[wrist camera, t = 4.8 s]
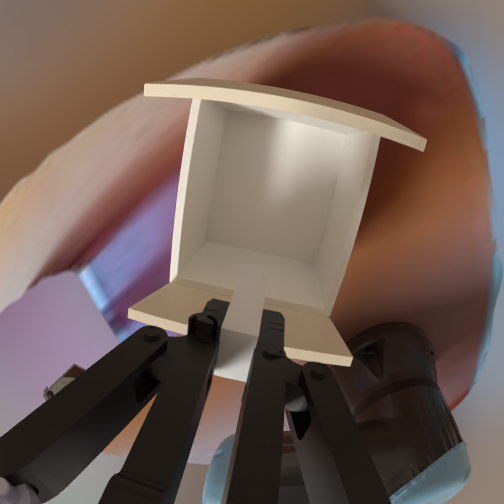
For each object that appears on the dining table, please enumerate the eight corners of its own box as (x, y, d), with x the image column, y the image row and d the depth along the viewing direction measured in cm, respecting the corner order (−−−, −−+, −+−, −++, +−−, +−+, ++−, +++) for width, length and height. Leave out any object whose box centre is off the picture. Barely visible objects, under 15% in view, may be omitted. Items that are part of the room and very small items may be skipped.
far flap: (353, 357, 15) (349, 366, 15) (328, 316, 22) (326, 323, 22) (128, 308, 15) (127, 317, 15) (170, 282, 22) (169, 289, 23)
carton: (351, 131, 26) (383, 123, 17) (317, 267, 31) (329, 316, 22) (224, 105, 26) (195, 85, 17) (202, 242, 32) (169, 281, 22)
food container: (72, 380, 45) (48, 412, 36) (68, 360, 43) (40, 393, 34) (124, 406, 45) (103, 443, 36) (122, 387, 43) (98, 427, 34)
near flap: (381, 122, 17) (383, 115, 16) (423, 151, 11) (427, 140, 10) (196, 85, 17) (197, 77, 17) (143, 95, 11) (144, 83, 11)
